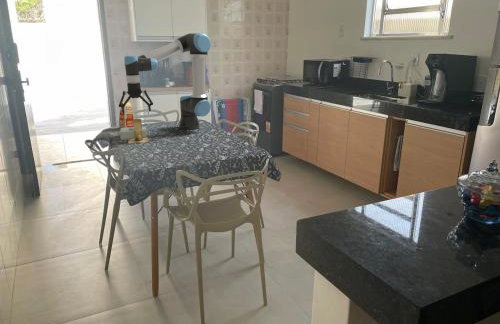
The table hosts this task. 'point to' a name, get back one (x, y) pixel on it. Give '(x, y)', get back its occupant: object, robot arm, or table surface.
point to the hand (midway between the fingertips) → (137, 117)
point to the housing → (131, 133)
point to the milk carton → (130, 116)
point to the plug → (137, 129)
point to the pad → (145, 140)
